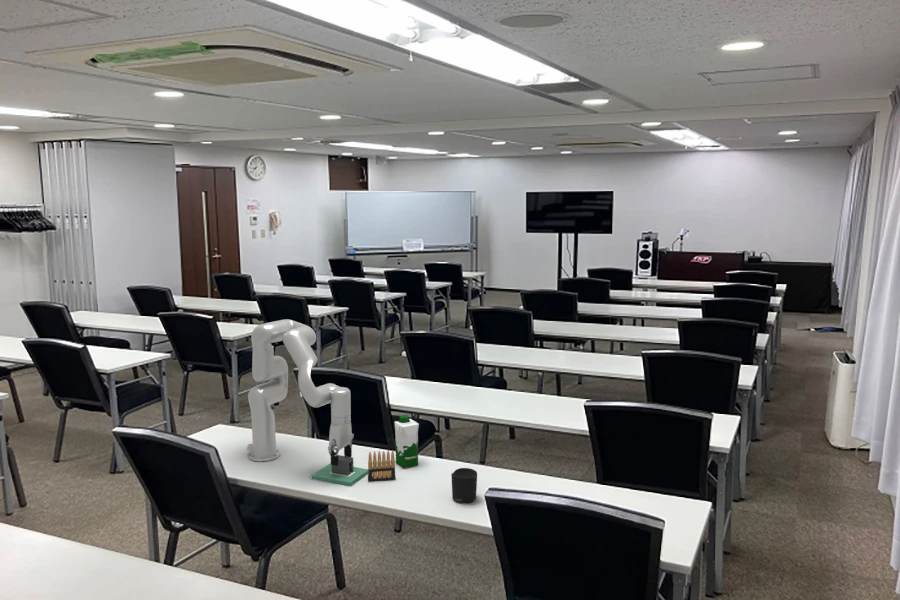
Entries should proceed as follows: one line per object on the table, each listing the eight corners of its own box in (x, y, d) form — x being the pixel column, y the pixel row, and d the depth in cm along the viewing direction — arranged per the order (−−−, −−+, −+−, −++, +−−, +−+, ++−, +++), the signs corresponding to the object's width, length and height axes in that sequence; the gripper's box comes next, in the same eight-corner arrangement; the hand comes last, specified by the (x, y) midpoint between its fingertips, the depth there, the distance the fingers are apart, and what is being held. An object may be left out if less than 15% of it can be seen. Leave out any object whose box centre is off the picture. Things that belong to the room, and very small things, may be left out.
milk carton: (411, 458, 285) (411, 413, 282) (421, 466, 277) (421, 419, 274) (392, 462, 280) (392, 416, 278) (402, 470, 273) (401, 422, 270)
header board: (311, 478, 264) (310, 466, 263) (331, 466, 277) (330, 453, 276) (350, 486, 257) (350, 473, 256) (369, 473, 270) (368, 460, 269)
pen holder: (447, 496, 249) (447, 470, 247) (470, 491, 252) (470, 466, 251) (457, 506, 240) (457, 479, 239) (481, 501, 244) (481, 475, 242)
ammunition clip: (395, 478, 265) (394, 448, 263) (395, 480, 263) (395, 450, 261) (367, 480, 263) (367, 450, 261) (368, 482, 261) (367, 452, 259)
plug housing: (331, 472, 266) (331, 458, 265) (337, 469, 270) (337, 454, 269) (347, 475, 263) (347, 461, 262) (353, 472, 267) (353, 457, 266)
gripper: (344, 411, 273) (344, 451, 275) (320, 424, 257) (320, 466, 259) (360, 414, 270) (360, 454, 272) (337, 427, 254) (337, 470, 257)
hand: (341, 460), depth 266 cm, fingers open, 9 cm apart
